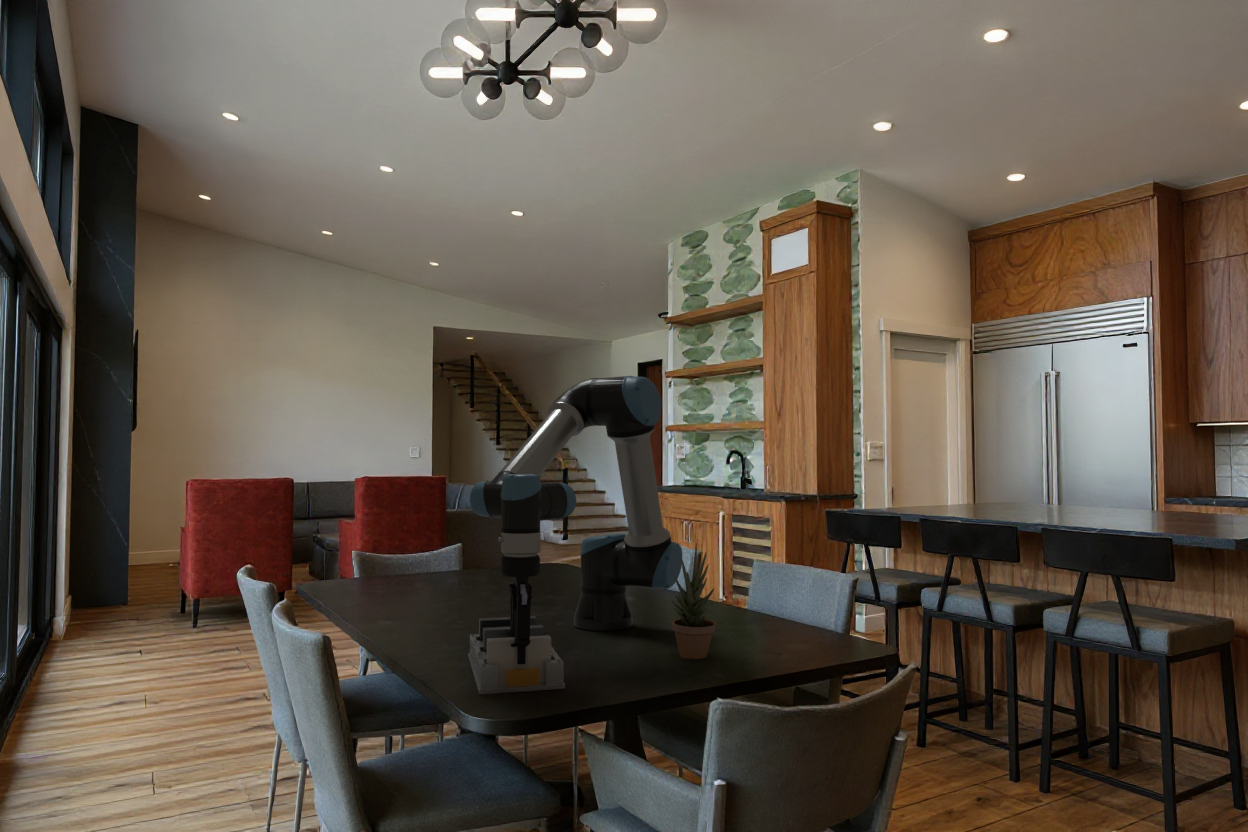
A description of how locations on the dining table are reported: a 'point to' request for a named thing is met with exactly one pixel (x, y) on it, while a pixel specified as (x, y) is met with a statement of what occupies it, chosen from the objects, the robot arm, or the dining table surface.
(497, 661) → the panel
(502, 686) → the rack
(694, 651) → the potted plant
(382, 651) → the dining table surface
